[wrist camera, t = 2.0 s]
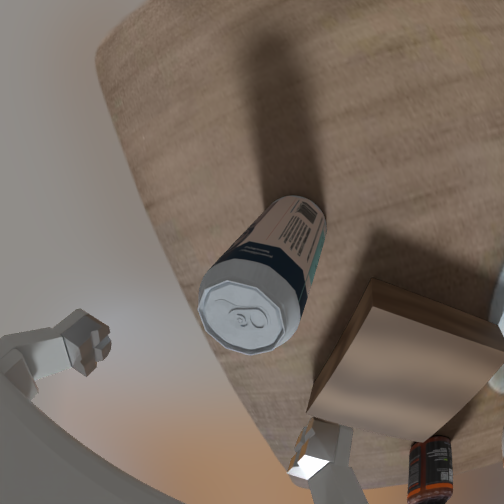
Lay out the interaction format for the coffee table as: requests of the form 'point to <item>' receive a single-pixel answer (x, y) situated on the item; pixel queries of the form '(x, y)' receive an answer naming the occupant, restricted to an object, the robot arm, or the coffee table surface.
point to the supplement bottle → (430, 472)
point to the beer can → (264, 278)
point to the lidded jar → (503, 445)
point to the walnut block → (405, 365)
